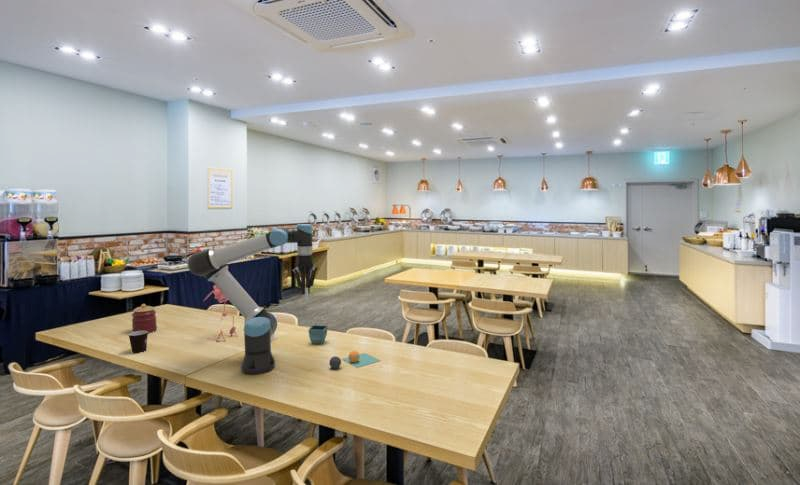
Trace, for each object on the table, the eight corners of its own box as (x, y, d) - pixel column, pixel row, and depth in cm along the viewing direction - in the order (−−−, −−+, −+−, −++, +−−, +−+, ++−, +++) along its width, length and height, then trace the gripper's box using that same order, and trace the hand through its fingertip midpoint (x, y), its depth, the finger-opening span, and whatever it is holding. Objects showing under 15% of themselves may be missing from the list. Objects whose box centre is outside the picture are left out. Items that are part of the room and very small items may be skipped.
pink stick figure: (248, 333, 246) (245, 276, 244) (215, 346, 222) (211, 284, 220) (229, 331, 252) (226, 276, 250) (194, 343, 228) (191, 282, 226)
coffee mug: (139, 354, 209) (138, 335, 208) (125, 353, 211) (124, 334, 210) (157, 347, 221) (156, 329, 220) (143, 346, 222) (142, 328, 222)
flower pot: (328, 340, 232) (327, 325, 231) (323, 345, 223) (323, 329, 223) (313, 340, 233) (313, 325, 232) (308, 345, 224) (308, 329, 224)
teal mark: (357, 367, 191) (357, 367, 191) (342, 359, 202) (342, 359, 202) (380, 360, 200) (380, 360, 200) (364, 353, 211) (364, 352, 211)
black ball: (342, 357, 189) (343, 367, 191) (337, 352, 194) (338, 362, 195) (331, 361, 186) (333, 372, 188) (326, 357, 191) (328, 367, 192)
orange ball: (355, 351, 195) (363, 354, 199) (349, 348, 200) (357, 351, 203) (350, 362, 194) (358, 365, 197) (344, 359, 198) (352, 361, 201)
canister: (134, 330, 253) (133, 302, 252) (158, 327, 258) (157, 300, 257) (130, 335, 241) (129, 307, 240) (155, 333, 247) (154, 305, 245)
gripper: (296, 256, 195) (297, 303, 197) (320, 254, 204) (320, 299, 205) (289, 254, 201) (290, 300, 203) (313, 253, 209) (314, 297, 211)
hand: (305, 300), depth 204 cm, fingers closed
